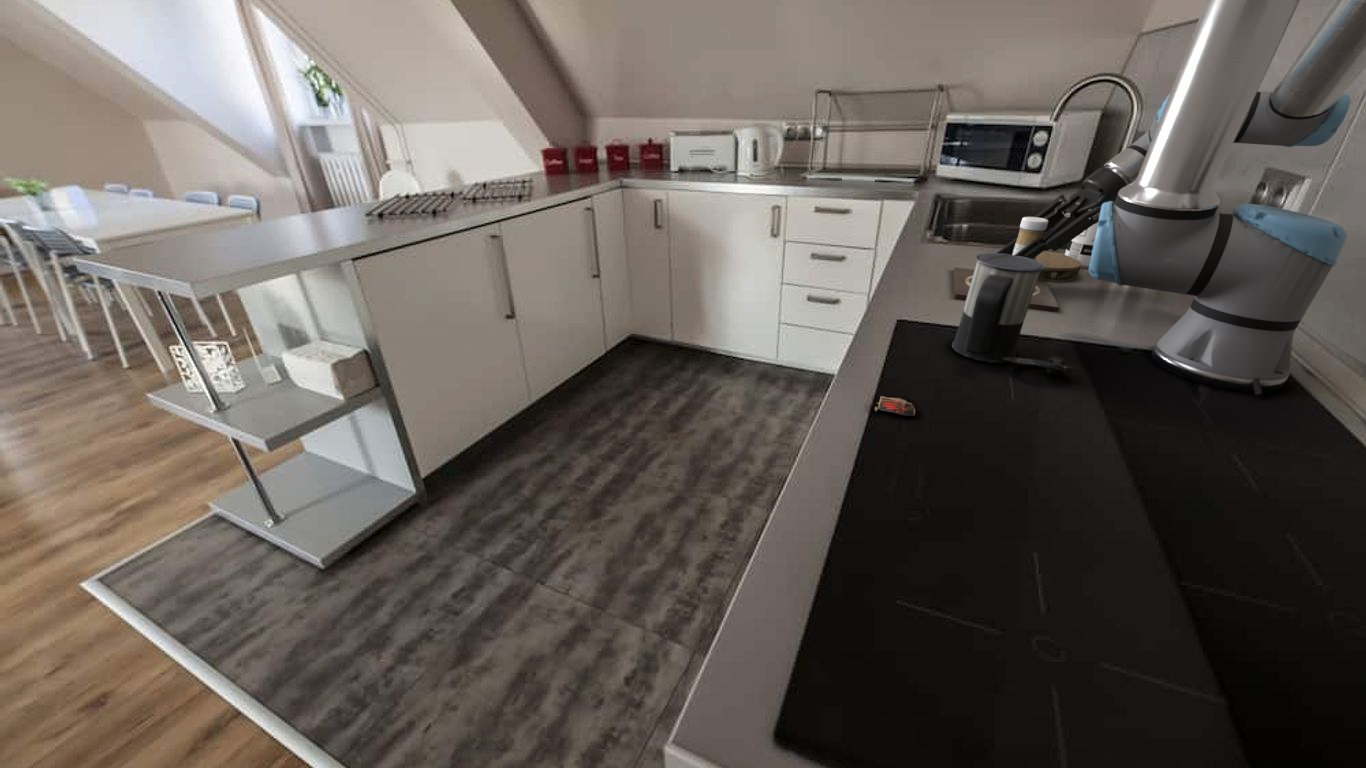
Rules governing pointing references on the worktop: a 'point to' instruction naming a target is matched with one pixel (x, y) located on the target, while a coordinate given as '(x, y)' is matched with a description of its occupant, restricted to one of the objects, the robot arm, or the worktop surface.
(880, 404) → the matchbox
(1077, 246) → the supplement can
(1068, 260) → the brown round flat disc
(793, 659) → the worktop surface
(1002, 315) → the milk frother
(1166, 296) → the worktop surface
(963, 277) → the serving tray
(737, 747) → the worktop surface
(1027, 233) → the sprinkles bottle
